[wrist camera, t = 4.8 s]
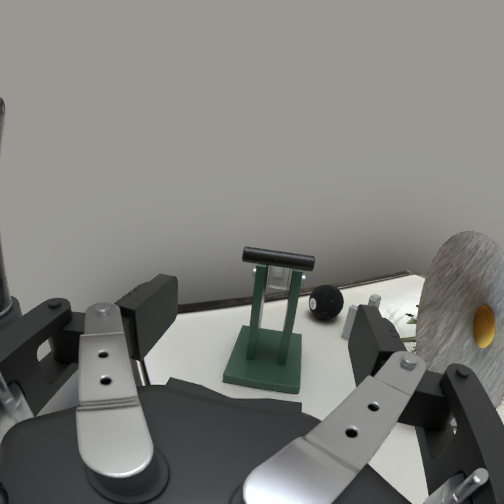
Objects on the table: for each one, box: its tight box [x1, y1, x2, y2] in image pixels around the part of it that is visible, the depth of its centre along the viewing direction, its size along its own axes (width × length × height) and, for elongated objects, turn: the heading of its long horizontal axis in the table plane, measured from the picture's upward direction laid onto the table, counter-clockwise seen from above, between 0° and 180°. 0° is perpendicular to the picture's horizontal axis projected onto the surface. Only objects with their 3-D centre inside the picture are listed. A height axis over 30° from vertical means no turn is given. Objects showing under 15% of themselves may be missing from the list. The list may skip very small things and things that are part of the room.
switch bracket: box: [223, 264, 305, 394], centre depth 34 cm, size 12×9×14 cm
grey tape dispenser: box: [342, 294, 381, 340], centre depth 45 cm, size 6×1×10 cm
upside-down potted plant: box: [401, 231, 504, 426], centre depth 31 cm, size 25×18×25 cm
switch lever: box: [242, 247, 315, 290], centre depth 28 cm, size 13×6×2 cm, turn 171°
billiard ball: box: [309, 285, 344, 319], centre depth 48 cm, size 6×6×6 cm
